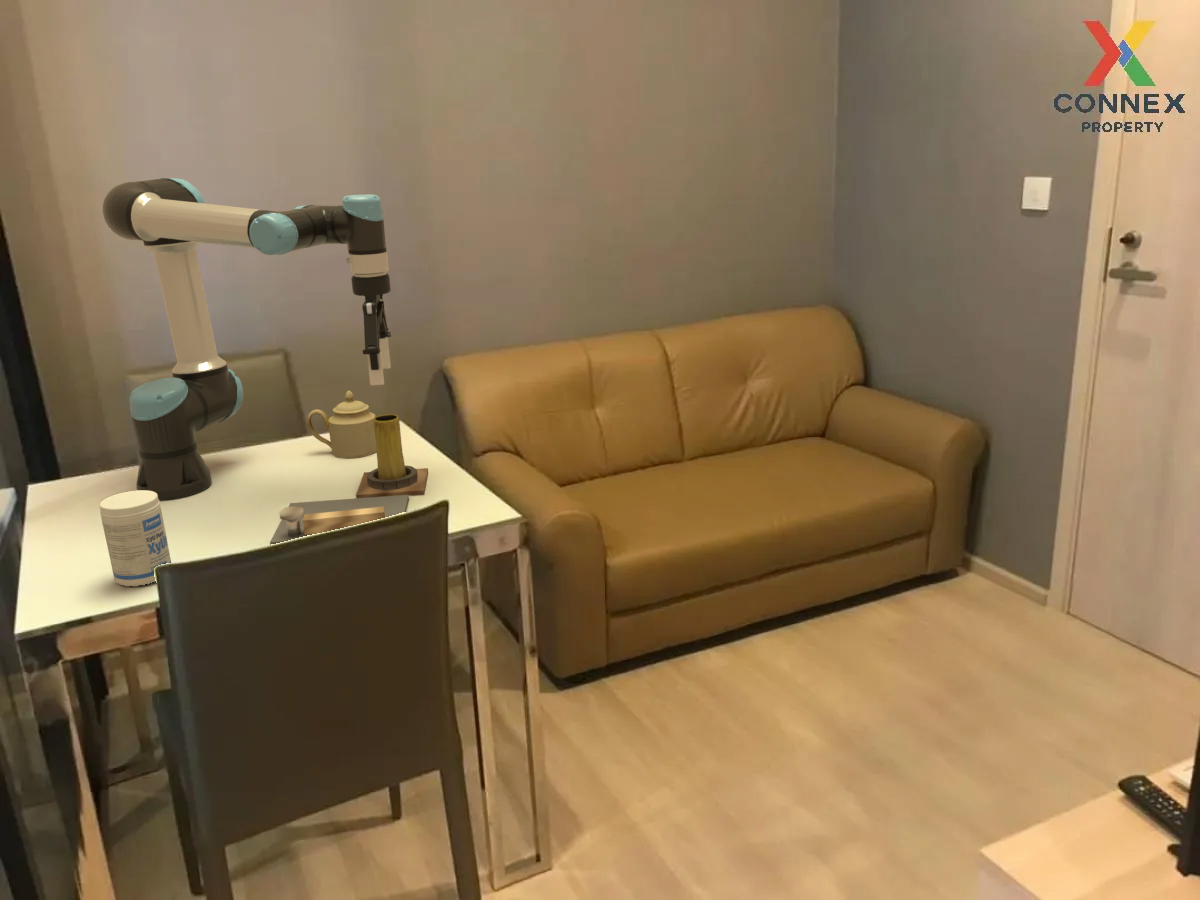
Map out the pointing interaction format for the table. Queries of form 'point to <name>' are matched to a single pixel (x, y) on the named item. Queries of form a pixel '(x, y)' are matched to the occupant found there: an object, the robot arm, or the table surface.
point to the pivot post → (293, 527)
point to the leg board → (389, 503)
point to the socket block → (393, 484)
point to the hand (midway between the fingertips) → (380, 376)
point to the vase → (389, 447)
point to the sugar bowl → (348, 429)
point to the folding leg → (331, 518)
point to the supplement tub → (134, 536)
